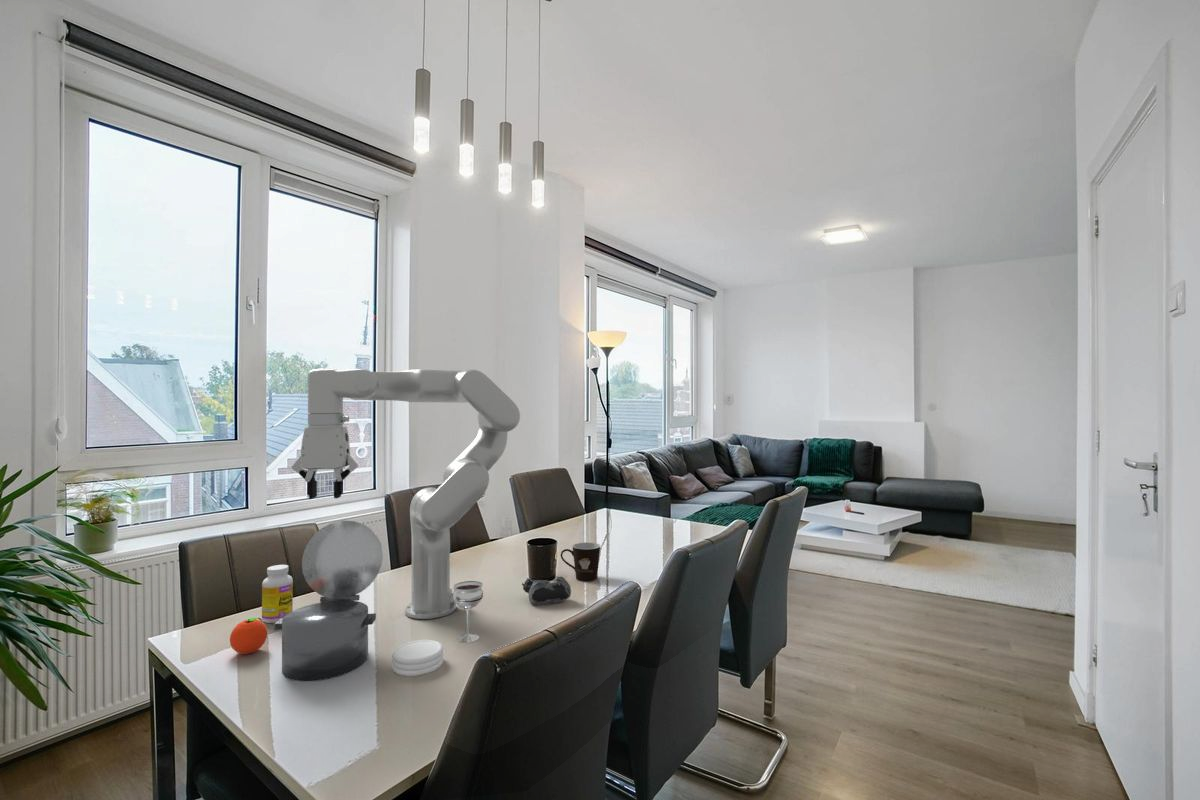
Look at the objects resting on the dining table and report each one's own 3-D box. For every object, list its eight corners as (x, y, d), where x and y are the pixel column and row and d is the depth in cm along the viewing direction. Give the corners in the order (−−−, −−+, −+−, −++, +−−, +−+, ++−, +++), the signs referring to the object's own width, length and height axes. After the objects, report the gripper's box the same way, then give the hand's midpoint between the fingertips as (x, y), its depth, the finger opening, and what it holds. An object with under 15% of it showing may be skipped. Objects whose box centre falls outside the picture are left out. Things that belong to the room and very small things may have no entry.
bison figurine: (572, 604, 151) (563, 591, 161) (572, 578, 151) (563, 566, 160) (528, 610, 147) (521, 596, 157) (528, 583, 147) (521, 571, 157)
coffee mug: (605, 577, 174) (605, 544, 174) (590, 584, 167) (590, 550, 167) (574, 571, 180) (574, 539, 181) (558, 578, 173) (558, 545, 173)
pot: (382, 643, 126) (382, 598, 126) (363, 677, 110) (363, 625, 110) (292, 648, 123) (293, 602, 123) (259, 684, 107) (260, 631, 107)
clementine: (246, 643, 126) (246, 611, 126) (277, 643, 126) (277, 611, 126) (221, 659, 118) (221, 625, 118) (254, 659, 118) (254, 625, 118)
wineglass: (450, 635, 130) (450, 582, 130) (480, 630, 133) (480, 579, 133) (455, 646, 124) (455, 591, 124) (486, 641, 127) (486, 587, 127)
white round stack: (425, 651, 122) (425, 634, 122) (453, 664, 116) (453, 647, 116) (382, 667, 115) (382, 650, 115) (409, 682, 108) (409, 664, 108)
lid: (298, 603, 124) (302, 602, 126) (379, 599, 126) (381, 598, 128) (305, 521, 128) (309, 522, 130) (383, 519, 131) (386, 519, 133)
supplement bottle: (278, 625, 136) (279, 571, 137) (255, 623, 138) (255, 570, 138) (298, 615, 143) (298, 564, 143) (276, 613, 144) (276, 562, 144)
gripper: (367, 420, 139) (367, 494, 139) (293, 420, 137) (293, 496, 136) (358, 421, 132) (358, 499, 131) (280, 421, 129) (280, 501, 129)
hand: (325, 496), depth 134 cm, fingers open, 4 cm apart
